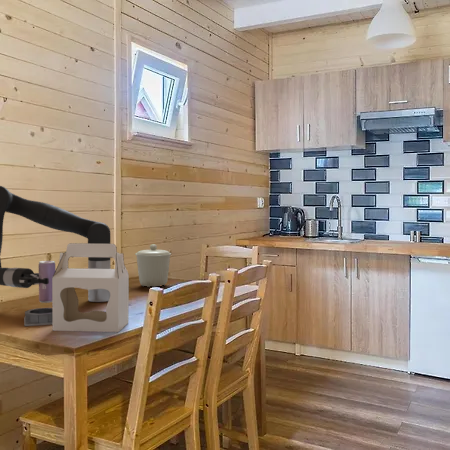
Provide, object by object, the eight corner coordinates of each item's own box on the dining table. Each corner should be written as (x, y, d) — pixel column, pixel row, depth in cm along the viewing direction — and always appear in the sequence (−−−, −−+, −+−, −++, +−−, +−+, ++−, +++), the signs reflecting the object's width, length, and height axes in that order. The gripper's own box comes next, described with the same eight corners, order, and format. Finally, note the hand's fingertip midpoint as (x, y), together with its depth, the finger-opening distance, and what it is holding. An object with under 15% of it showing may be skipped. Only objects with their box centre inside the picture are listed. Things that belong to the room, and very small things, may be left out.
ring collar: (59, 316, 190) (59, 306, 190) (61, 323, 179) (61, 313, 179) (24, 319, 186) (24, 308, 186) (24, 326, 175) (24, 315, 175)
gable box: (129, 323, 181) (129, 242, 180) (119, 332, 168) (119, 245, 167) (66, 321, 182) (66, 241, 181) (51, 331, 169) (51, 244, 168)
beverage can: (59, 300, 198) (58, 261, 197) (49, 303, 192) (48, 262, 192) (45, 299, 200) (45, 260, 199) (35, 302, 194) (35, 262, 194)
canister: (128, 285, 265) (128, 244, 264) (157, 282, 277) (157, 242, 276) (148, 290, 251) (148, 246, 250) (178, 286, 264) (178, 244, 263)
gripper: (3, 270, 195) (39, 272, 188) (32, 265, 208) (66, 267, 201) (4, 290, 195) (39, 293, 189) (32, 284, 209) (66, 287, 202)
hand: (53, 280), depth 195 cm, fingers closed on beverage can, 5 cm apart
